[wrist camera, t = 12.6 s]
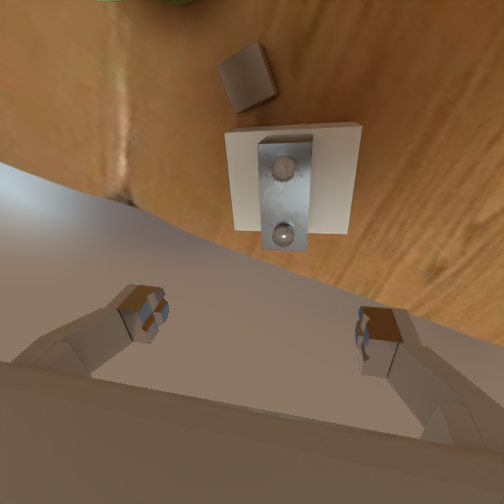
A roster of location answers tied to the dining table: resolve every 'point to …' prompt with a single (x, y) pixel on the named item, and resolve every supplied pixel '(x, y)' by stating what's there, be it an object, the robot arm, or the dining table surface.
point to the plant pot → (170, 0)
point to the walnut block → (248, 78)
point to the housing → (284, 190)
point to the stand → (322, 173)
